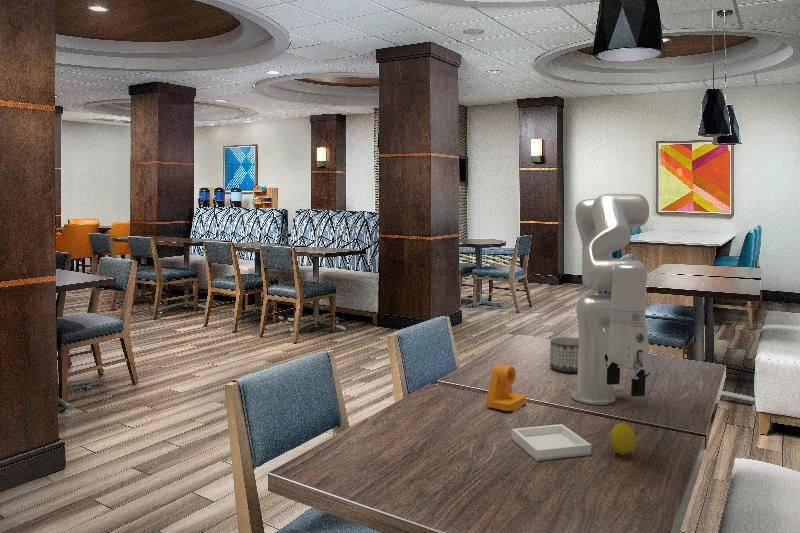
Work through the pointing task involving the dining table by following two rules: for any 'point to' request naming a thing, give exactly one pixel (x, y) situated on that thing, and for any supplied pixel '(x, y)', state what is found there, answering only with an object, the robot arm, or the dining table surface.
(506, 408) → the bracket
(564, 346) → the planter
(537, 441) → the tray
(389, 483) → the dining table surface
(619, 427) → the lemon
